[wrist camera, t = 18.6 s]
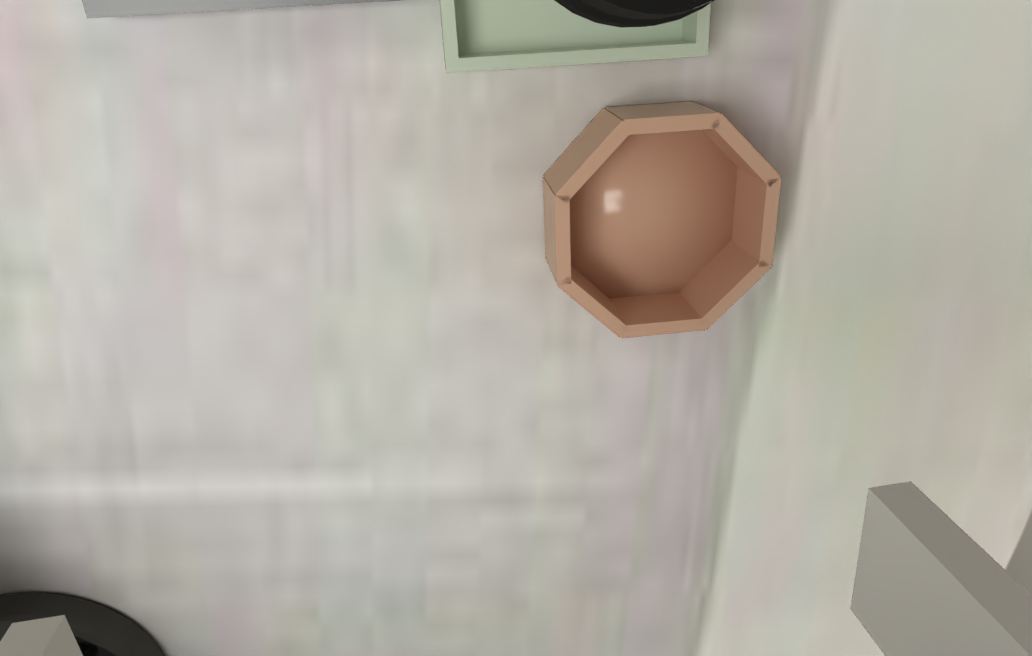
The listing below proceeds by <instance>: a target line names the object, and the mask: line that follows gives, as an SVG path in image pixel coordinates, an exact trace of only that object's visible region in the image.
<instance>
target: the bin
mask: <svg viewBox="0 0 1032 656" xmlns="http://www.w3.org/2000/svg"><path fill="white" fill-rule="evenodd" d="M543 176H544V177H543V199H544V227H545V255H546V260H547V263H548V265H549V267H550V269H551V272H552V274H553V276H554V279H555V281H556V283H557V285H558V287H559V288H560V289H562V290H563V291H564V292H565V293H567V294H568V295H569V296H570V297H571V298H573V299H574V300H575V301H576V302H577V303H579V304H580V305H581V306H582V307H583V308H585V309H586V310H587V311H588V312H589V313H591V314H592V315H593V316H594V317H595V318H597V319H598V320H599V321H600V322H602V323H603V324H604V325H605V326H606V327H608V328H609V329H610V330H611V331H612V332H614V333H615V334H616V335H617V336H618V337H621V338H628V337H638V336H649V335H659V334H670V333H680V332H691V331H701V330H705V328H706V329H708V328H709V327H710V326H711V325H712V324H713V323H714V322H715V321H716V320H717V319H718V318H719V317H720V316H721V315H722V314H724V313H725V312H726V311H727V310H728V309H729V308H730V307H731V306H732V305H733V304H734V303H735V302H736V301H737V300H738V299H739V298H740V297H741V296H742V295H743V294H744V293H745V292H746V291H747V290H748V289H749V288H751V287H752V286H753V285H754V284H755V283H756V282H757V281H758V280H759V279H760V278H761V277H762V276H763V275H764V274H765V273H766V272H767V271H768V270H769V269H770V268H771V267H770V266H772V262H773V253H774V243H775V234H776V225H777V215H778V206H779V196H780V187H781V178H780V177H781V176H780V175H779V174H778V173H777V172H776V171H775V170H774V169H773V168H772V167H771V165H770V164H769V163H768V162H767V161H766V160H765V159H764V158H763V157H762V156H761V155H760V154H759V153H758V152H757V151H756V149H755V148H754V147H753V146H752V145H751V144H750V143H749V142H748V141H747V140H746V139H745V138H744V137H743V136H742V135H741V133H740V132H739V131H738V130H737V129H736V128H735V127H734V126H733V125H732V124H731V123H730V122H729V121H728V120H727V118H726V117H725V116H724V115H723V114H722V113H720V112H717V111H715V110H712V109H710V108H707V107H705V106H702V105H700V104H697V103H695V102H692V101H689V102H674V103H660V104H646V105H631V106H617V107H605V109H604V108H603V109H602V110H601V111H600V112H599V113H598V115H597V116H596V117H595V118H594V119H593V120H592V121H591V122H590V123H589V125H588V126H587V127H586V128H585V129H584V130H583V131H582V132H581V134H580V135H579V136H578V137H577V138H576V139H575V140H574V141H573V142H572V143H571V144H570V146H569V147H568V148H567V149H566V150H565V151H564V153H563V154H562V155H561V156H560V157H559V158H558V159H557V160H556V162H555V163H554V164H553V165H552V166H551V167H550V168H549V169H548V171H547V172H546V173H545V174H544V175H543Z"/></svg>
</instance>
